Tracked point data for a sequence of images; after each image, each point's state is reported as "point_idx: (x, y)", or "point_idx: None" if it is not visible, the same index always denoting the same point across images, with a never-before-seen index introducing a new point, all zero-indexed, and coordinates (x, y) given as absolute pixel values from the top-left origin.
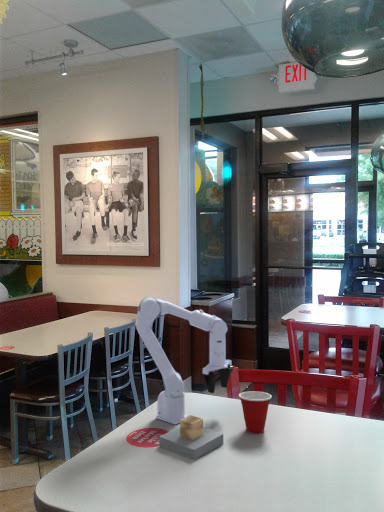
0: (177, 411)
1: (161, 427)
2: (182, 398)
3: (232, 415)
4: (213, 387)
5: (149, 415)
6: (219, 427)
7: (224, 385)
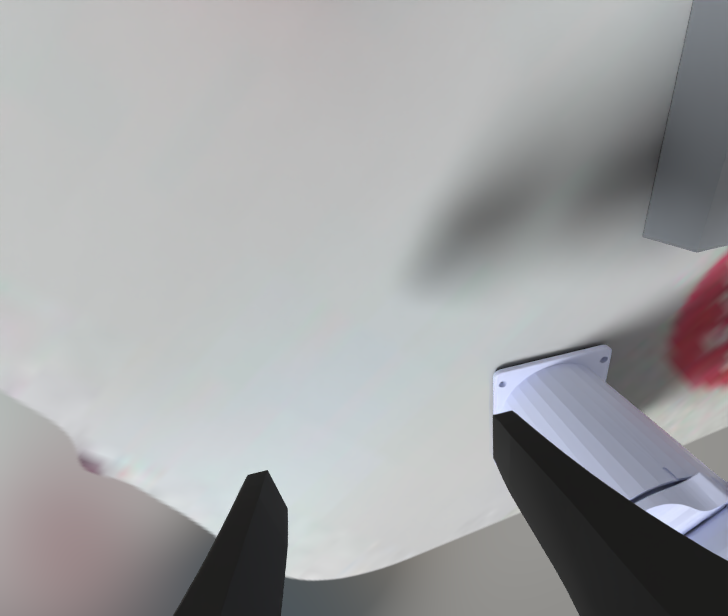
0: (621, 398)
1: (658, 354)
2: (653, 464)
3: (272, 270)
4: (571, 459)
5: None
6: (486, 165)
7: (271, 504)
